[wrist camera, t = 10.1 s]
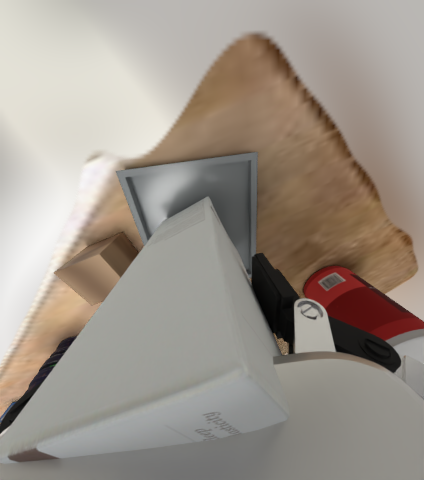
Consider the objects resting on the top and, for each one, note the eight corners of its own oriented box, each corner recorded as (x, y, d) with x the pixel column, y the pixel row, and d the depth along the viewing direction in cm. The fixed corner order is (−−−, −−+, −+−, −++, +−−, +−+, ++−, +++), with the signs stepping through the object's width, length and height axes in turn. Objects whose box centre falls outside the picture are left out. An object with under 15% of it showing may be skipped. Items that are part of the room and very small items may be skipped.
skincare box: (239, 253, 19) (347, 472, 5) (196, 274, 19) (198, 511, 6) (205, 190, 15) (286, 394, 2) (155, 220, 16) (-60, 513, 2)
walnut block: (122, 231, 18) (99, 254, 14) (146, 262, 20) (132, 290, 16) (87, 246, 19) (53, 272, 14) (114, 275, 21) (91, 305, 17)
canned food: (294, 298, 26) (351, 378, 17) (316, 261, 23) (405, 333, 13) (331, 301, 28) (404, 377, 18) (358, 266, 24) (466, 336, 14)
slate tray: (251, 153, 16) (257, 151, 14) (251, 268, 22) (255, 276, 21) (124, 170, 15) (115, 171, 14) (163, 282, 22) (161, 291, 21)
